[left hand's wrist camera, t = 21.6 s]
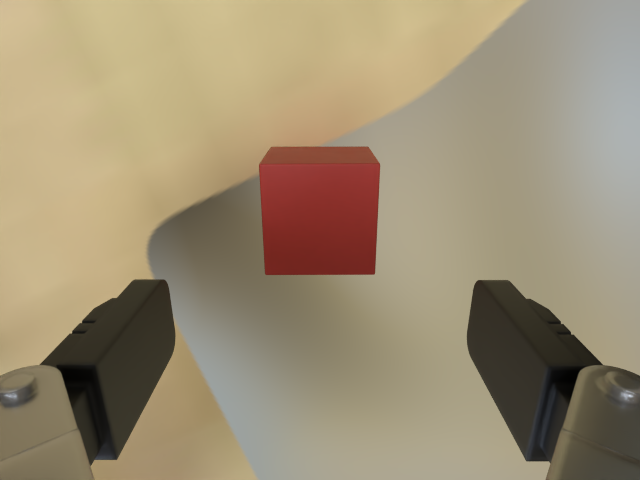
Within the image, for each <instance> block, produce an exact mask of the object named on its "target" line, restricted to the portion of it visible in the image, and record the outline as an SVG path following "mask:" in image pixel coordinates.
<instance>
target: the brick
mask: <svg viewBox="0 0 640 480" xmlns="http://www.w3.org/2000/svg"><path fill="white" fill-rule="evenodd" d="M259 172H260V190H261V208H262V226H263V245H264V263H265V274H266V275H372V274H375V261H376V241H377V219H378V198H379V177H380V163H379V162H378V161H377V159H376V157H375V156H374V155H373V153H372V152H371V150H370V149H369V147H271V148H270V149H269V151H268V152H267V154H266V155H265V157H264V158H263V160H262V161H261V163H260V164H259Z"/></svg>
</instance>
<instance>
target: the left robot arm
mask: <svg viewBox="0 0 640 480" xmlns="http://www.w3.org/2000/svg"><path fill="white" fill-rule="evenodd" d="M467 345H468V350H469V354H470V356H471V358H472V360H473V362H474V364H475V366H476V368H477V370H478V372H479V374H480V375H481V377H482V379H483V381H484V383H485V385H486V387H487V388H488V390H489V392H490V394H491V396H492V398H493V400H494V402H495V403H496V405H497V407H498V409H499V411H500V413H501V415H502V416H503V418H504V420H505V422H506V424H507V426H508V428H509V430H510V431H511V433H512V435H513V437H514V439H515V441H516V443H517V445H518V446H519V448H520V450H521V452H522V454H523V456H524V458H525V460H526V461H549V462H550V467H549V470H548V474H547V477H546V480H640V376H639V375H637V374H635V373H632V372H630V371H627V370H624V369H620V368H616V367H612V366H605V365H603V364H602V363H601V362H600V361H599V360H598V359H597V358H596V357H595V356H594V355H593V354H592V353H591V352H590V351H589V350H588V349H587V348H586V347H585V346H584V345H583V344H582V343H581V342H580V341H579V340H578V339H577V338H576V337H575V336H574V335H571V332H570V331H569V330H568V329H567V328H566V327H565V326H564V324H561V321H560V320H559V319H558V318H557V317H556V316H555V315H554V314H553V313H552V312H551V311H550V310H549V309H547V308H545V307H544V306H542V305H540V304H538V303H537V302H535V301H533V300H531V299H526V298H525V297H524V296H523V295H522V294H521V293H520V292H519V291H518V290H517V289H516V288H515V286H514V285H513V284H512V283H511V282H510V281H508V280H478V281H477V282H476V283H475V285H474V289H473V296H472V302H471V309H470V316H469V323H468V330H467ZM174 346H175V328H174V321H173V314H172V307H171V300H170V293H169V287H168V284H167V282H166V281H165V280H133V281H132V282H131V283H130V284H129V285H128V286H127V288H126V289H125V290H124V291H123V292H122V293H121V294H120V295H119V296H118V297H117V298H112V299H110V300H108V301H107V302H105V303H103V304H101V305H100V306H98V307H96V308H94V309H93V310H92V311H91V312H90V313H89V314H88V315H87V316H86V317H85V318H84V320H83V321H82V323H80V324H79V325H78V326H77V327H76V328H75V329H74V330H73V331H72V334H69V335H68V336H67V337H66V338H65V339H64V340H63V341H62V342H61V343H60V344H59V345H58V346H57V347H56V348H55V349H54V351H53V352H52V353H51V354H50V355H49V356H48V357H47V358H46V359H45V360H44V361H43V362H42V363H41V364H40V365H35V366H28V367H23V368H20V369H16V370H13V371H10V372H8V373H5V374H3V375H1V376H0V480H94V477H93V474H92V470H91V467H90V466H91V465H92V463H93V461H94V460H117V459H118V457H119V455H120V453H121V451H122V449H123V447H124V445H125V443H126V442H127V440H128V438H129V436H130V434H131V432H132V430H133V428H134V426H135V425H136V423H137V421H138V419H139V417H140V415H141V413H142V411H143V409H144V407H145V406H146V404H147V402H148V400H149V398H150V396H151V394H152V392H153V390H154V389H155V387H156V385H157V383H158V381H159V379H160V377H161V375H162V373H163V371H164V370H165V368H166V366H167V364H168V362H169V360H170V358H171V356H172V354H173V351H174Z"/></svg>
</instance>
